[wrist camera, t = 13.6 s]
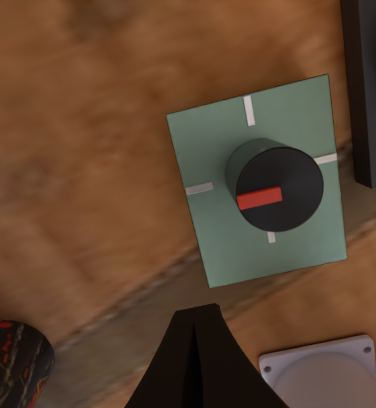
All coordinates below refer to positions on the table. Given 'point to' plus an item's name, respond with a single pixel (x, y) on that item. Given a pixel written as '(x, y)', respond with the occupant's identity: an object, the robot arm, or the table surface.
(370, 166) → the base
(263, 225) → the lock dial
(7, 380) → the deodorant
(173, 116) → the dial panel
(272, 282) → the table surface
